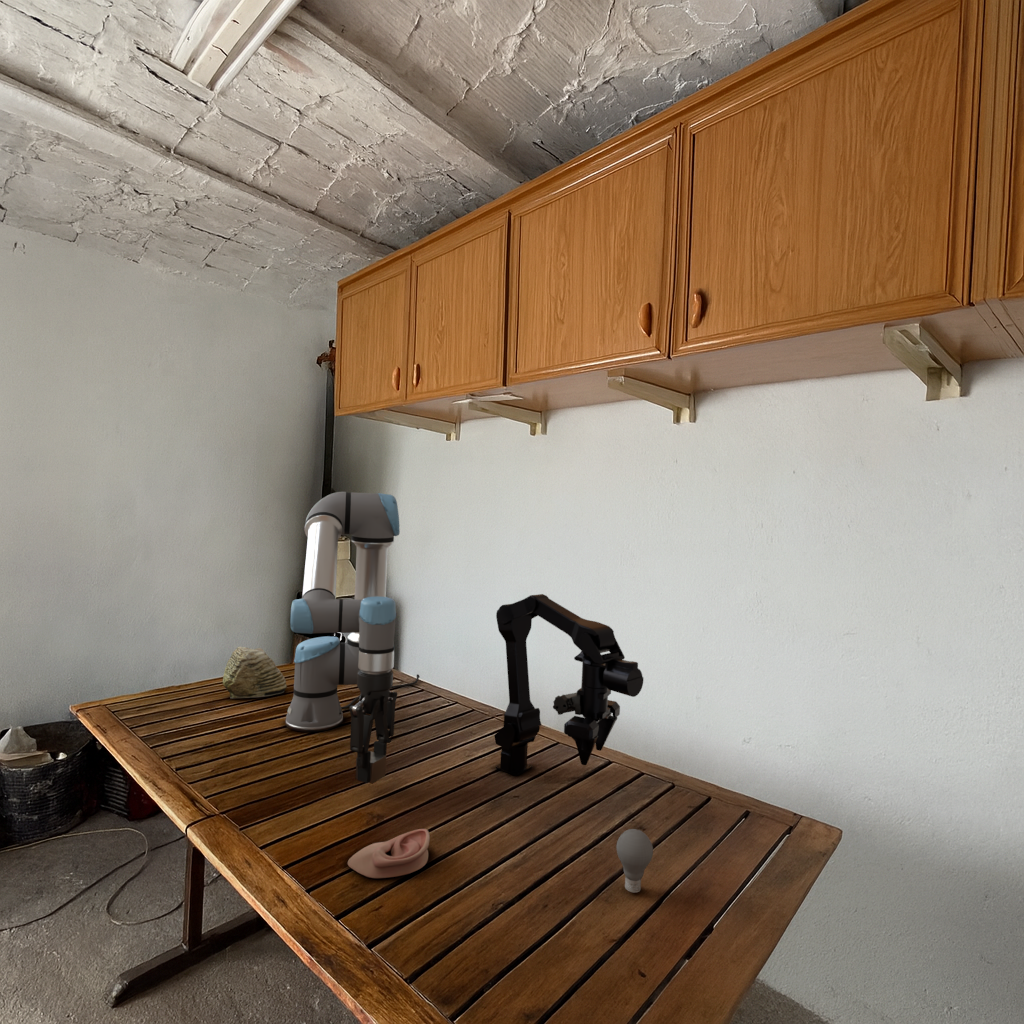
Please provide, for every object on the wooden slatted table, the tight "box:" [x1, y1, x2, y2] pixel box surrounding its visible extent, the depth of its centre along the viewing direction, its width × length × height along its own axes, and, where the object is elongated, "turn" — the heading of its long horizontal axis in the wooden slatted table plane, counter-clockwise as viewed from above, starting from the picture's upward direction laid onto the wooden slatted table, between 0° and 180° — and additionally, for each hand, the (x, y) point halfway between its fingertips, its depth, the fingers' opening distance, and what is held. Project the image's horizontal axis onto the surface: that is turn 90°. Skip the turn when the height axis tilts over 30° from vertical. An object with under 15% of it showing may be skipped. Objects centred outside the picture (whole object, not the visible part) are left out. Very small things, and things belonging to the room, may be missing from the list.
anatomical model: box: [347, 828, 431, 879], centre depth 111 cm, size 13×4×12 cm
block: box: [355, 750, 387, 785], centre depth 137 cm, size 4×5×4 cm
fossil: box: [222, 646, 288, 699], centre depth 198 cm, size 9×18×15 cm, turn 132°
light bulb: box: [615, 828, 654, 894], centre depth 106 cm, size 6×6×10 cm
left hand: (371, 776), depth 137 cm, fingers closed on block, 4 cm apart
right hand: (591, 757), depth 135 cm, fingers open, 9 cm apart
